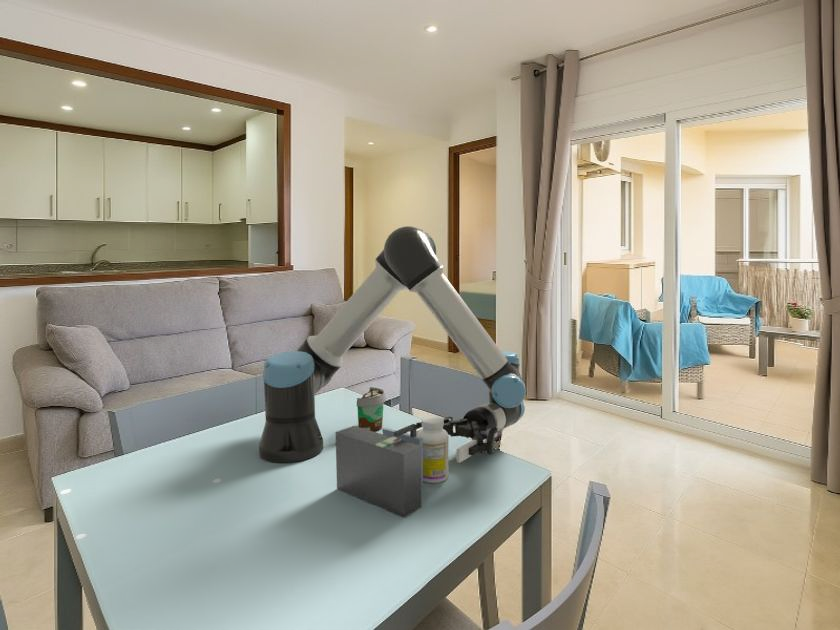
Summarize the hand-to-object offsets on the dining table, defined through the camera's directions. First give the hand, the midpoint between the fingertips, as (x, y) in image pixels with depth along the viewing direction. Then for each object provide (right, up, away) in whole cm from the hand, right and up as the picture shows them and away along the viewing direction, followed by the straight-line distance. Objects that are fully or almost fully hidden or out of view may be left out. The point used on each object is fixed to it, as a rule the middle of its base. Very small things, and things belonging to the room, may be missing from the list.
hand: (431, 448), depth 106 cm
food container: (-15, -3, +32) cm, 36 cm away
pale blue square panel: (-8, -6, -4) cm, 10 cm away
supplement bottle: (0, -7, +2) cm, 7 cm away
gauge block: (-11, -8, -7) cm, 15 cm away
